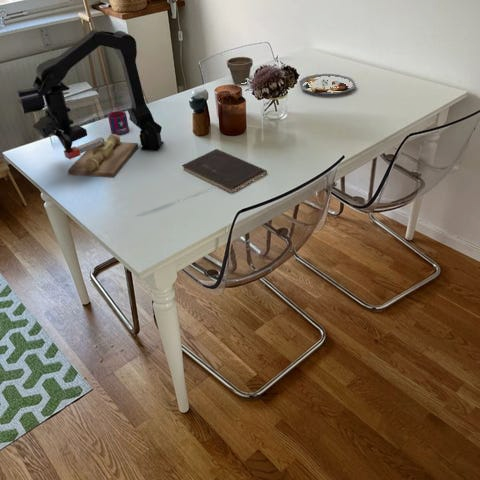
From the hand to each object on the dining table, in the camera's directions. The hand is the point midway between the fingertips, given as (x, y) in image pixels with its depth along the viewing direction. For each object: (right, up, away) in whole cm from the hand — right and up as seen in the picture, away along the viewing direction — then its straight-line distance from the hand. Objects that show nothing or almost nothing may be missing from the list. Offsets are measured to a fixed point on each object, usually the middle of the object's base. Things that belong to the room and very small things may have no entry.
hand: (68, 151), depth 168 cm
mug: (+10, +13, +29) cm, 33 cm away
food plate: (+94, +37, +55) cm, 115 cm away
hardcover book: (+51, -8, -1) cm, 52 cm away
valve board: (+10, -1, +9) cm, 13 cm away
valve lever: (+5, +1, +2) cm, 6 cm away
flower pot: (+56, +42, +64) cm, 95 cm away
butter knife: (+38, -18, -14) cm, 44 cm away
